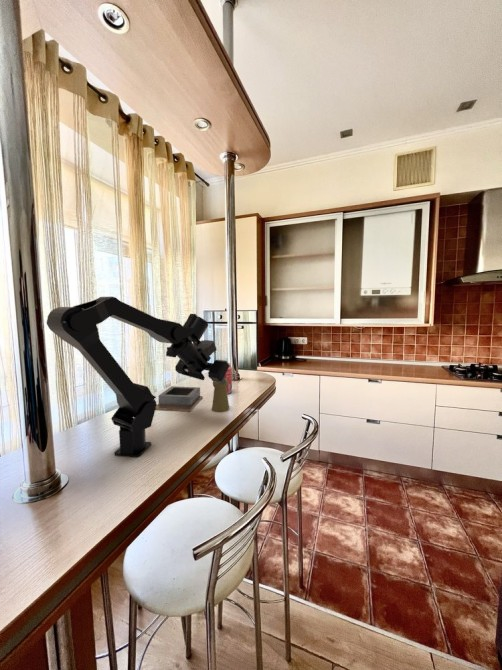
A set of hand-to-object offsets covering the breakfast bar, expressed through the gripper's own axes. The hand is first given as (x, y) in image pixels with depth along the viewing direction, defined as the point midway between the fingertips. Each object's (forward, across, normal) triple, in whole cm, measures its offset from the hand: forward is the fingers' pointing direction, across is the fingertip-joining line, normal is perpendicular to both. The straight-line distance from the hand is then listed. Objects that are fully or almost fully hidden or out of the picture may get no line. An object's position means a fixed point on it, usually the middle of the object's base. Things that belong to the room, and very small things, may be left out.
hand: (214, 381), depth 94 cm
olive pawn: (+10, 0, +6) cm, 11 cm away
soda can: (+20, +11, -5) cm, 24 cm away
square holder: (+7, +16, +8) cm, 19 cm away
